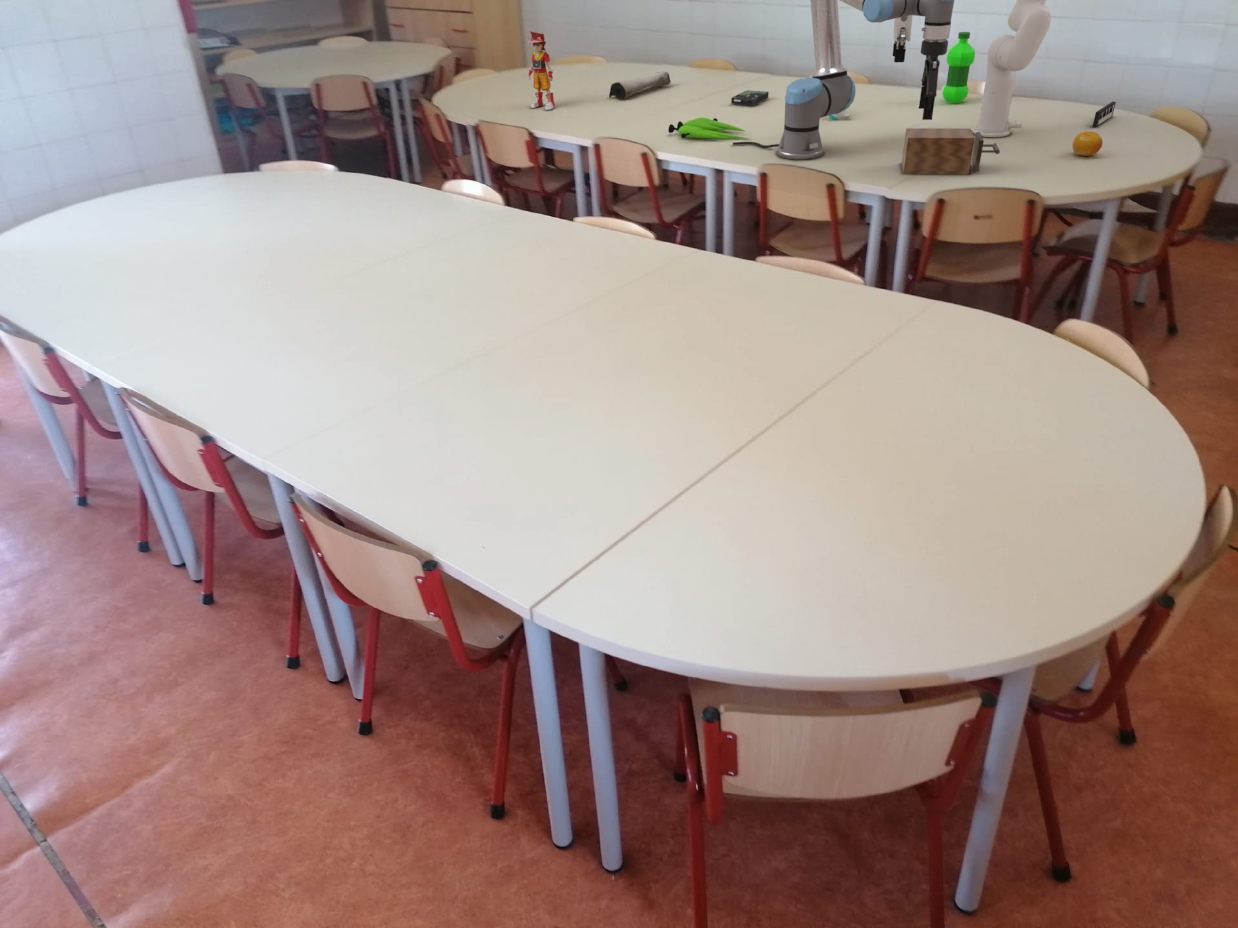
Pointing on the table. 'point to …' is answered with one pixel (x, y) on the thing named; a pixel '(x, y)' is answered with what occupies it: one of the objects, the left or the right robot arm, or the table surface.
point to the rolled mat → (638, 84)
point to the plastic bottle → (958, 69)
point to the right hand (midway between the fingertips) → (898, 59)
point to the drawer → (978, 150)
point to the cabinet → (937, 150)
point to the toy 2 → (704, 129)
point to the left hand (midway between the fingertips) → (925, 114)
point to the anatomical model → (839, 115)
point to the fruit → (1087, 143)
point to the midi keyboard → (1104, 113)
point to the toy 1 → (541, 71)
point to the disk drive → (749, 98)
